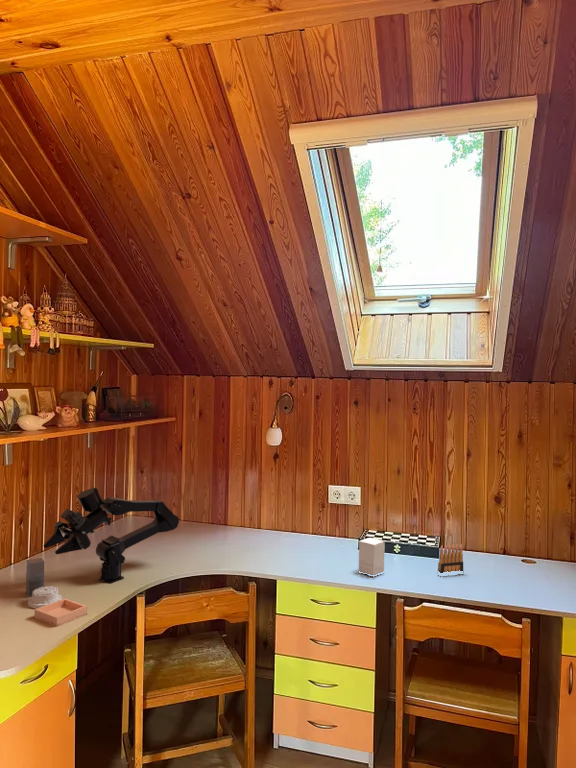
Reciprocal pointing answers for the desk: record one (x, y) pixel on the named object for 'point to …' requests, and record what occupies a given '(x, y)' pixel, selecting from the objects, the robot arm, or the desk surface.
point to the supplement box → (371, 556)
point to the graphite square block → (34, 575)
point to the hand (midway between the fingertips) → (49, 550)
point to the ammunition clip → (450, 559)
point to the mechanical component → (44, 596)
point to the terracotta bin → (60, 612)
